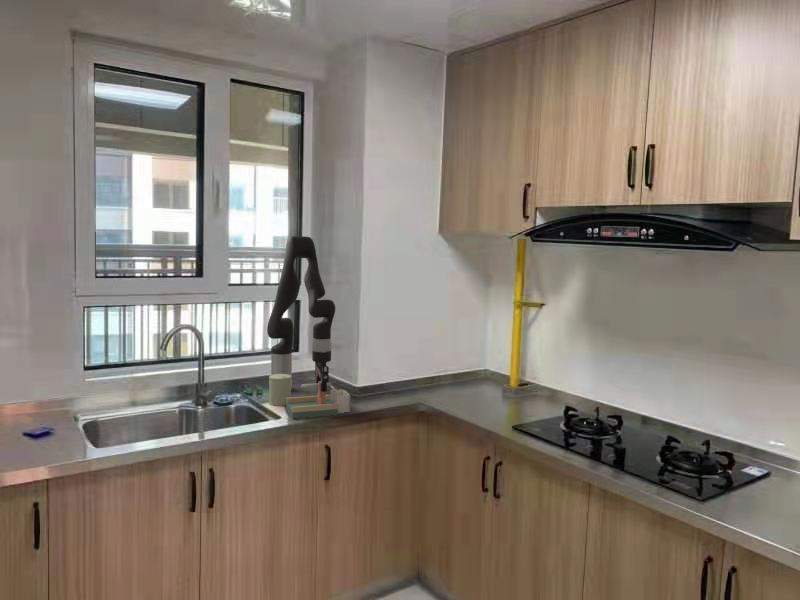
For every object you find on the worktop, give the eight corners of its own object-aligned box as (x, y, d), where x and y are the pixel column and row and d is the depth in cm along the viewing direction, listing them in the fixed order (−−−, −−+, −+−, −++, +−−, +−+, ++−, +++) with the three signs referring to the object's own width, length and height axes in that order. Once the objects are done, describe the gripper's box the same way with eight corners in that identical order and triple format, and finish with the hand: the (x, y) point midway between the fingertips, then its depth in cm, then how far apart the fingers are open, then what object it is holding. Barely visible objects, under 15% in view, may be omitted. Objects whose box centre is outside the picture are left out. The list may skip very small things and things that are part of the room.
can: (279, 407, 253) (279, 378, 252) (264, 403, 258) (264, 375, 257) (295, 402, 260) (295, 374, 259) (281, 399, 266) (281, 371, 264)
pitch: (286, 408, 251) (286, 397, 250) (329, 405, 257) (329, 394, 256) (292, 418, 237) (292, 407, 236) (338, 415, 243) (338, 404, 242)
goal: (330, 406, 254) (330, 386, 254) (343, 405, 256) (343, 385, 256) (336, 413, 245) (336, 391, 244) (350, 412, 247) (350, 390, 246)
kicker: (300, 403, 248) (300, 381, 247) (329, 401, 252) (329, 379, 251) (303, 407, 242) (303, 385, 241) (333, 405, 246) (333, 383, 245)
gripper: (309, 346, 251) (308, 385, 253) (316, 352, 238) (316, 393, 239) (326, 346, 253) (326, 384, 255) (335, 352, 240) (334, 392, 242)
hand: (321, 389), depth 247 cm, fingers open, 8 cm apart
